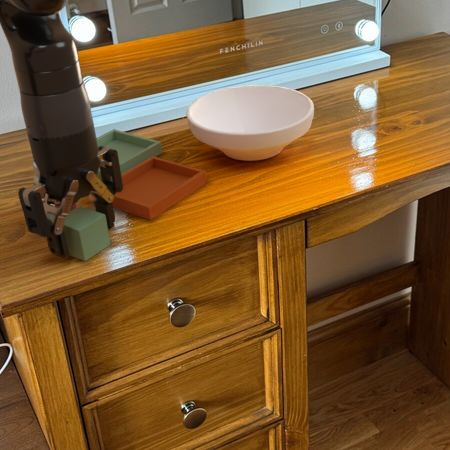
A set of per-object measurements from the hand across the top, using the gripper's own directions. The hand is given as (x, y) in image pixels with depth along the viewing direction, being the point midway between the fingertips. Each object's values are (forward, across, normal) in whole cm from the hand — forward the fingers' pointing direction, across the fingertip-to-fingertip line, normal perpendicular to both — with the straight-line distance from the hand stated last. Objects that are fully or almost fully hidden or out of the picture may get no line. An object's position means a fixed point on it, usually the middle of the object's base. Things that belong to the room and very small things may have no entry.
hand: (84, 241), depth 97 cm
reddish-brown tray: (+1, -15, -2) cm, 16 cm away
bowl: (+1, -34, +2) cm, 34 cm away
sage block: (+1, 0, 0) cm, 1 cm away
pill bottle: (+1, -4, -9) cm, 10 cm away
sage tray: (+1, -20, -15) cm, 25 cm away
